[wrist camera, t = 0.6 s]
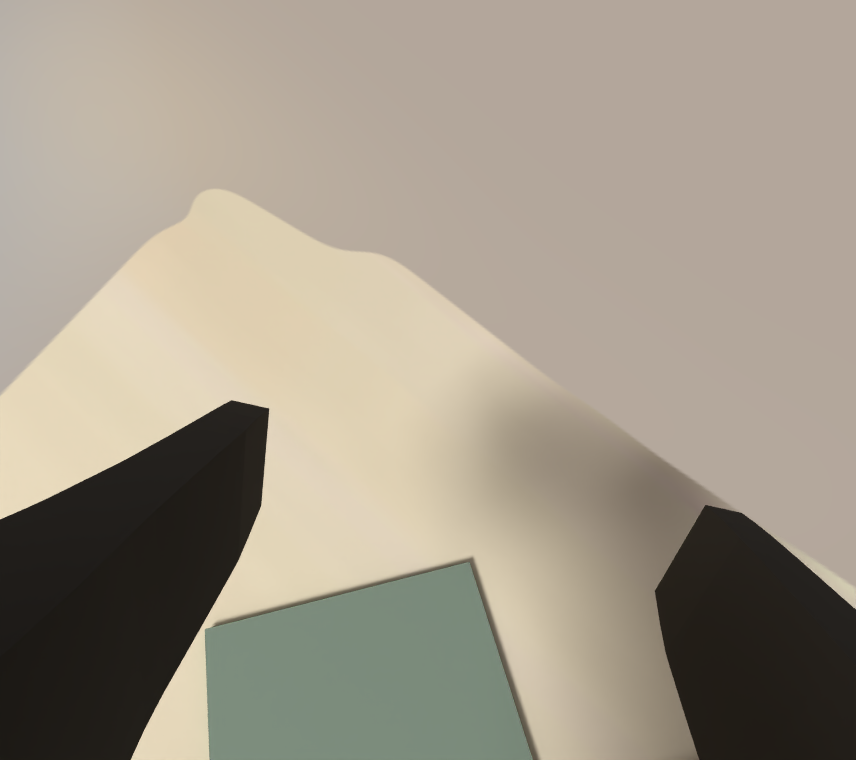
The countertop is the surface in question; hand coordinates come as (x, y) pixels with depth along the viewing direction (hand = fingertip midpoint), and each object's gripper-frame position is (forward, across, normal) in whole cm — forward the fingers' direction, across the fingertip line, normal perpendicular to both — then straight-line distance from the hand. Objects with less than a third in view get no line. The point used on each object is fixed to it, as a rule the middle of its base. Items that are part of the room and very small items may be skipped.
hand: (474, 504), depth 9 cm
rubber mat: (+5, 0, +18) cm, 18 cm away
